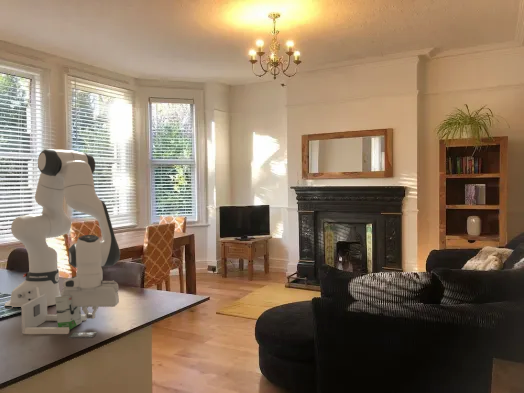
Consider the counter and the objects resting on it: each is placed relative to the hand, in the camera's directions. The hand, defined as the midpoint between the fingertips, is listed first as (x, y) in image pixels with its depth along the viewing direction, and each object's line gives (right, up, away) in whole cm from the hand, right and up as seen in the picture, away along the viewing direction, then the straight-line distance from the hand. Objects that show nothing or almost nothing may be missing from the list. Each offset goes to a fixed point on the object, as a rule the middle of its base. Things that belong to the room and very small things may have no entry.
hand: (90, 318), depth 167 cm
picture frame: (+1, -4, -10) cm, 11 cm away
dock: (-13, -3, 0) cm, 13 cm away
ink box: (-7, -3, 0) cm, 8 cm away
